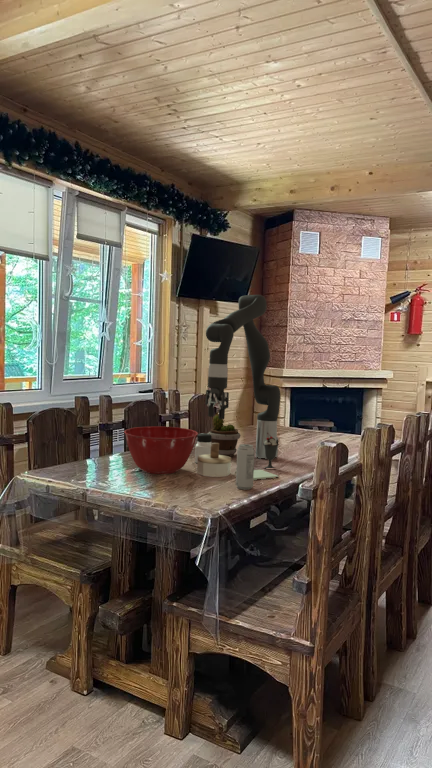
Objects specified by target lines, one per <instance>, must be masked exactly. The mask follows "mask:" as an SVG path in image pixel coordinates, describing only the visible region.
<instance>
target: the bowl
mask: <svg viewBox="0 0 432 768" xmlns="http://www.w3.org/2000/svg"><path fill="white" fill-rule="evenodd" d="M231 462H232V461H231ZM231 462H230V463H226V464H209V463H203V462H199V461H198V463H197V468H196V469H197V470H196V473H197V474H198V475H201V476H203V477H211V478H212V477H213V478H220V477H222V478H223V477H228V476H229V475H230V474H231V467H232V466H231V465H232V463H231Z"/></svg>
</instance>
